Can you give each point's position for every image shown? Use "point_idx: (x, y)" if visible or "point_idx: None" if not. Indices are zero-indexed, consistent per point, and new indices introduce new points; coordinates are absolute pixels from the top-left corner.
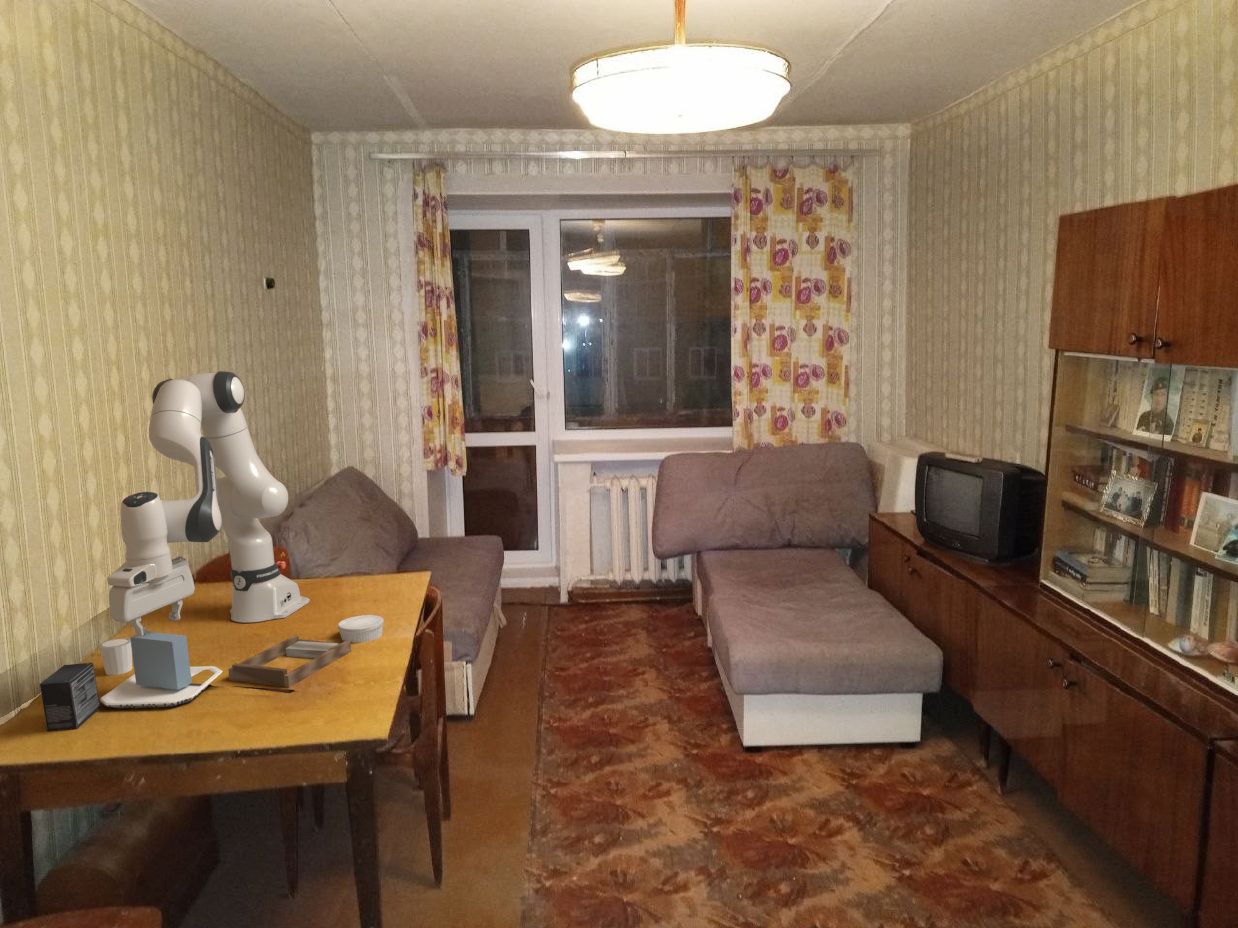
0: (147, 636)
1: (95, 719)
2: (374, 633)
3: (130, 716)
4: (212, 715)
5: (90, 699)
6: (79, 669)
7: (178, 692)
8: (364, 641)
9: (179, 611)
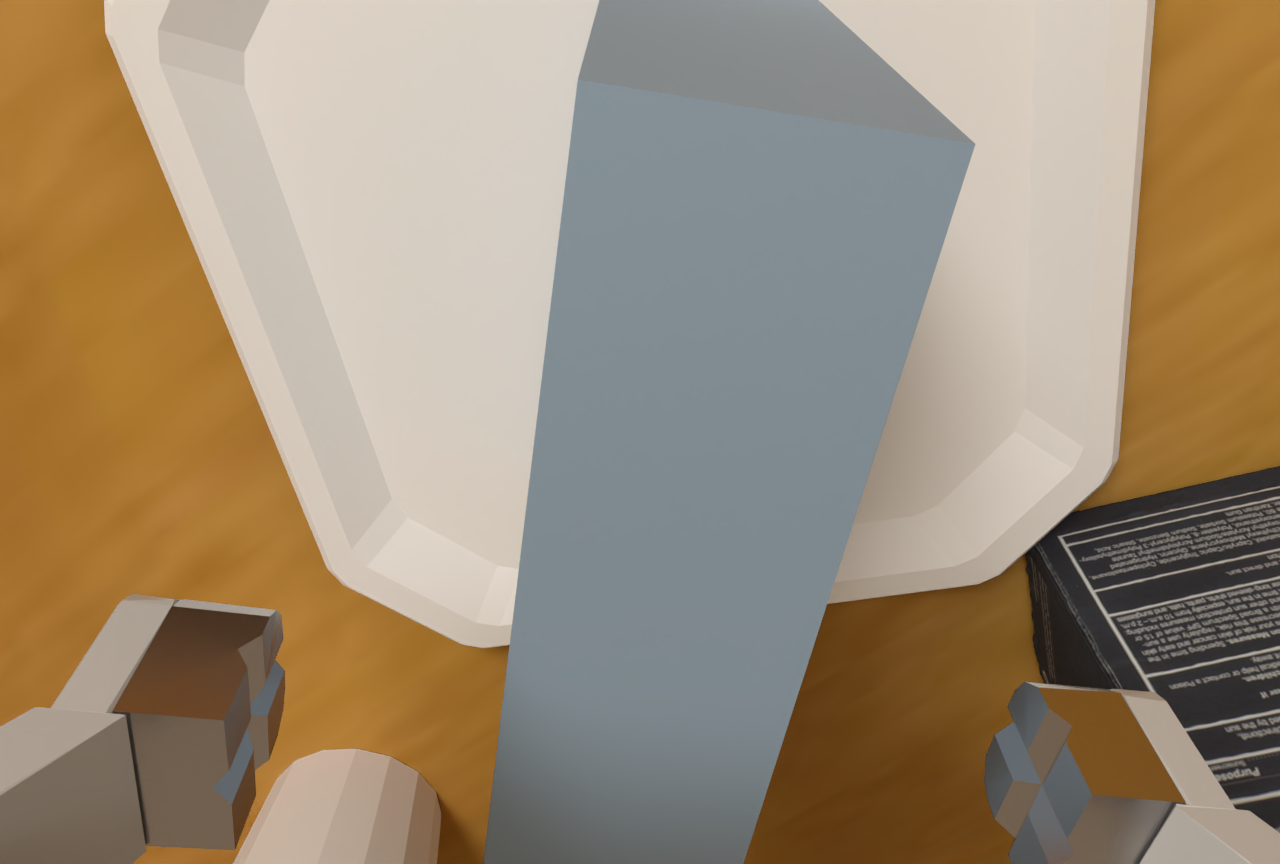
0: (691, 724)
1: (1251, 419)
2: None
3: (1244, 168)
4: None
5: (1226, 570)
6: None
7: None
8: None
9: (52, 712)
